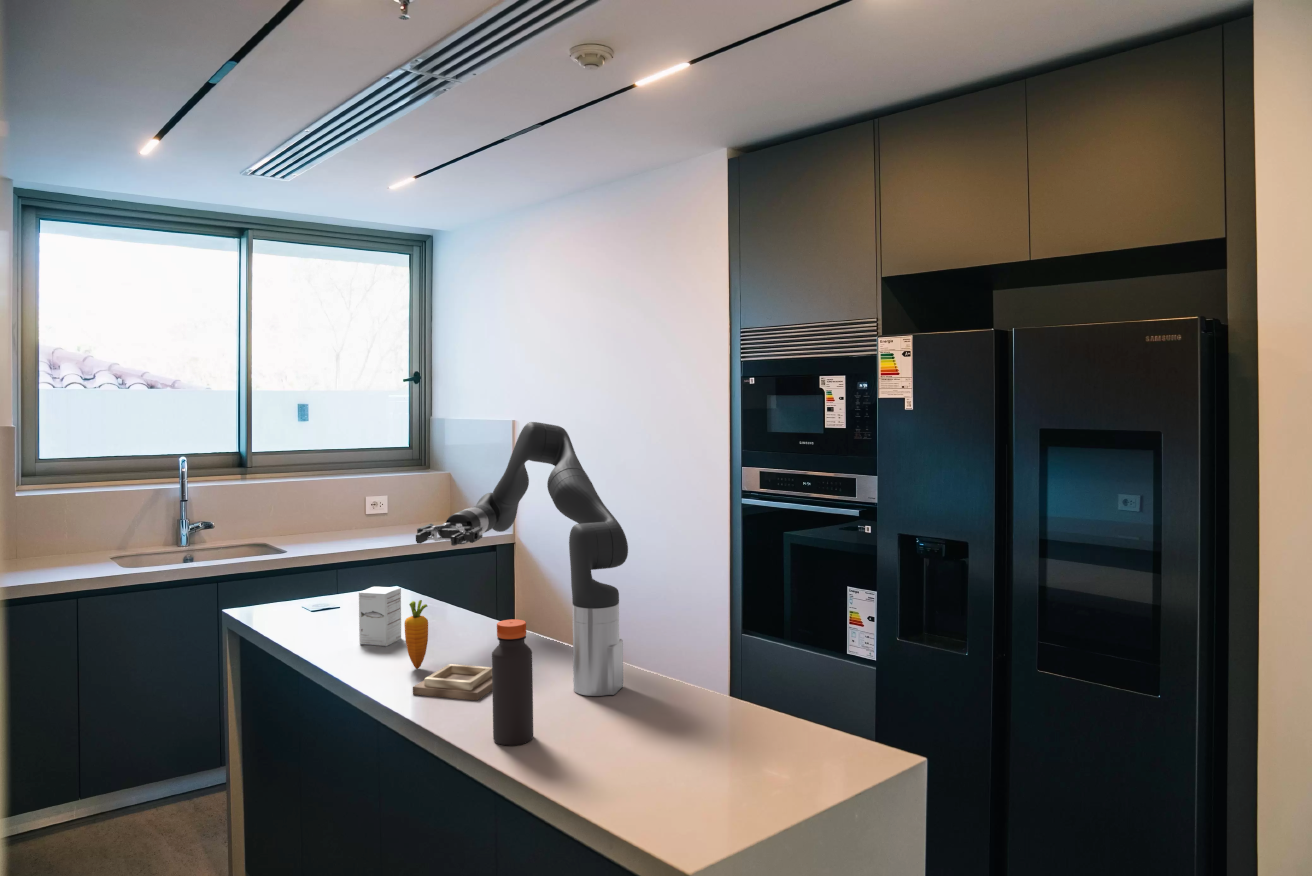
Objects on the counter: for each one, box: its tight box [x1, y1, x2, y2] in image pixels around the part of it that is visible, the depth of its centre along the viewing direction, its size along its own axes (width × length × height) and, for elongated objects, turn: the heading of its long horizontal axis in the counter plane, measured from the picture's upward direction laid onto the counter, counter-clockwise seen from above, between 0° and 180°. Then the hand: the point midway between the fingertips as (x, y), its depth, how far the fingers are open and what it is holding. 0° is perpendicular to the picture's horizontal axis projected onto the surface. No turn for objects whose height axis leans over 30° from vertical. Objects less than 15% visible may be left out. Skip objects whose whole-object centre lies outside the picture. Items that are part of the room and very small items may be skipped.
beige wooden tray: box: [412, 663, 492, 701], centre depth 180 cm, size 14×12×3 cm
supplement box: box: [358, 586, 402, 647], centre depth 214 cm, size 7×7×13 cm
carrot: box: [404, 599, 429, 670], centre depth 192 cm, size 5×5×15 cm
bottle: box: [491, 618, 534, 747], centre depth 152 cm, size 7×7×20 cm
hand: (435, 540), depth 201 cm, fingers open, 8 cm apart
